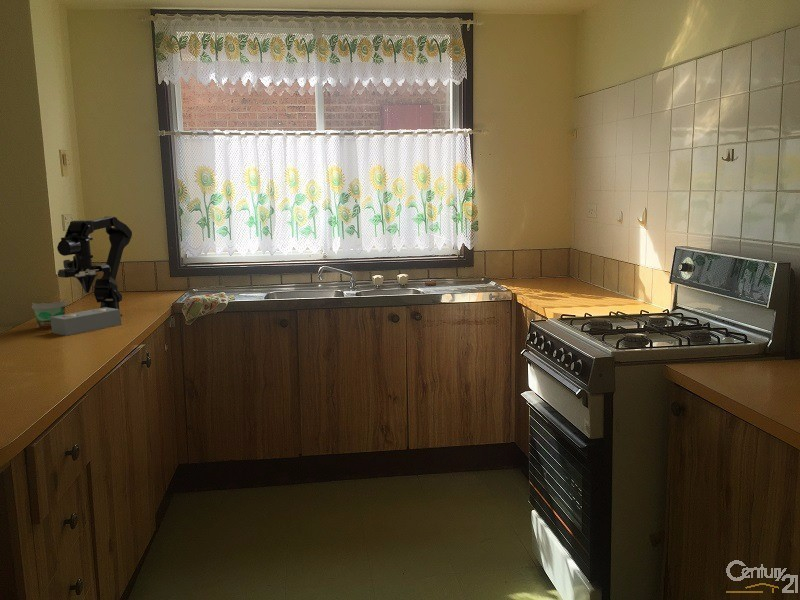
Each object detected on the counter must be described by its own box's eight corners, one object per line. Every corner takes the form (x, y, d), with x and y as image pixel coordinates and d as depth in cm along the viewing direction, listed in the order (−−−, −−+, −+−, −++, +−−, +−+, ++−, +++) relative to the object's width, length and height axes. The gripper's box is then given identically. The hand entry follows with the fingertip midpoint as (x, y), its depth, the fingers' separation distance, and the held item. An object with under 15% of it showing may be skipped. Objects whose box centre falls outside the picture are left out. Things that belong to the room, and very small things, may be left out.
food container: (30, 331, 268) (27, 304, 267) (34, 328, 274) (31, 302, 272) (66, 328, 271) (63, 302, 270) (69, 325, 277) (66, 299, 276)
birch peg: (104, 324, 276) (102, 308, 275) (109, 325, 274) (108, 309, 273) (94, 326, 273) (92, 310, 272) (100, 327, 271) (98, 311, 270)
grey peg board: (106, 322, 281) (105, 307, 280) (121, 324, 275) (119, 309, 274) (52, 332, 263) (50, 317, 262) (66, 335, 257) (64, 319, 256)
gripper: (93, 250, 288) (97, 288, 290) (48, 254, 273) (53, 295, 276) (109, 250, 281) (113, 289, 284) (63, 255, 267) (68, 297, 269)
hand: (87, 292), depth 278 cm, fingers closed
